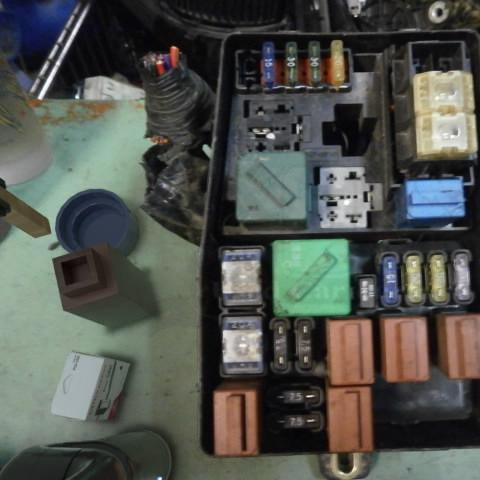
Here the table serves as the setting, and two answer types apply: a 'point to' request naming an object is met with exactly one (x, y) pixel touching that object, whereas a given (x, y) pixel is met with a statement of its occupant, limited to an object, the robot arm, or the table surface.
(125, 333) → the table surface
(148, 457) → the robot arm
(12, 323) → the table surface
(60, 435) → the table surface
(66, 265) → the stand
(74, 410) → the ink box
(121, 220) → the bowl
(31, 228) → the stirring stick
